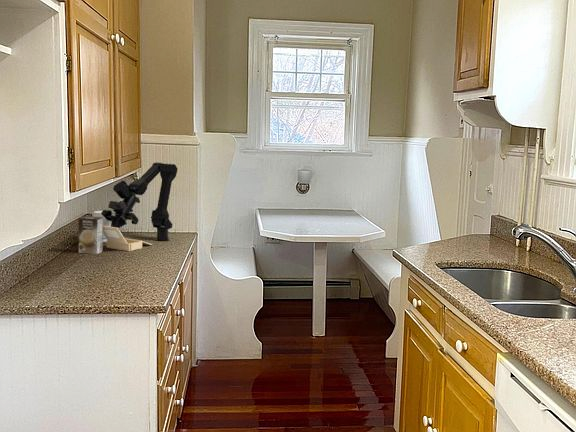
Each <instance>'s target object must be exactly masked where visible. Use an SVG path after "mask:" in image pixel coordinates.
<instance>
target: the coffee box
mask: <svg viewBox="0 0 576 432" xmlns="http://www.w3.org/2000/svg"><path fill="white" fill-rule="evenodd" d="M102 252H103V242H102V217H93V216H89V215H88V216H86V215H84V216H81V217H78V254H93V255H94V254H95V255H98V254H101V253H102Z"/></svg>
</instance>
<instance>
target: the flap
mask: <svg viewBox="0 0 576 432" xmlns="http://www.w3.org/2000/svg"><path fill="white" fill-rule="evenodd" d="M102 233H103V234H104V236H105V237H106V239H107V240H108V241H114V242H120V243H127V242H126V240H125V239H124V238H125V237H124V235H123V234H122V232H121V231H120V228H117V227H109V226H102Z"/></svg>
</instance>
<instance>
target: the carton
mask: <svg viewBox="0 0 576 432" xmlns="http://www.w3.org/2000/svg"><path fill="white" fill-rule="evenodd" d="M124 239H125V240H126V242H127V243H120V242H114V241H108V240H107V242H106V248H107V249H113V250H118V251H123V252H124V251H125V252H133V251H136V250H142V249H143V245H149V246H153V244H154V243H153V244H152V243H150V242H147V241H143V240H141V239H140V240H139V239H134V238H127V237H124Z"/></svg>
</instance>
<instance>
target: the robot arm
mask: <svg viewBox="0 0 576 432" xmlns="http://www.w3.org/2000/svg"><path fill="white" fill-rule="evenodd" d="M177 173H178V167H177V165H176V164H174V163H164V162H153V163H152V165H151V166H150V168H148V169H147V170H146V171H145V172H144V173H143V174H142V175H141V176H140V177H139V178H137V179H135V180H133V181H132V182H131V183H129V185H128V183H127V181H125V180H120V182H117V183H116V184H115V185H113V188H112V190H113V191H114V193H115V194H116V195H117V196H118V197H119V198H120V199H122V200H120V201H114V200H110V201H109V203H108V209H102V210H101V211H102V213H101V214H102V215H103V216H104V217H105V218H106V219H107V220H108V221H111V227H117V228H118V229H120V228H122V227H124V226H125V225H128V223H127V222H128V221H131V224H132V225H135V226H136V225H137V224H138V223H139V218H138V216H136V214H135V213H133V212H134V210H133V208H134V206H135V205H136V204H140V203H141V200H140V197H138V196H143V195H144V194H146V191H147V190H148V186H149V184H150V183H151V182H152V181H153V180H154V179H155V178H156V177H157V176H158V175H160V178H161V182H160V183H161V184H160V190H159V196H158V200H157V206H156V208H155V209H152V210H151V217H150V218H151V219H150V220H151V224H152V227H153V229H154V228H155V229H156V238H155V241H158V242H160V241H165V242H166V241H168V242H169V241H170V237H169V230H171V229H172V228H173V223H172V221H171V220H170V214H169V212H168V205H169V199H170V193H171V188H172V182H173V181H175V180H174V179H176V177H177ZM110 209H112V210H110ZM112 212H113V213H112Z"/></svg>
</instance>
